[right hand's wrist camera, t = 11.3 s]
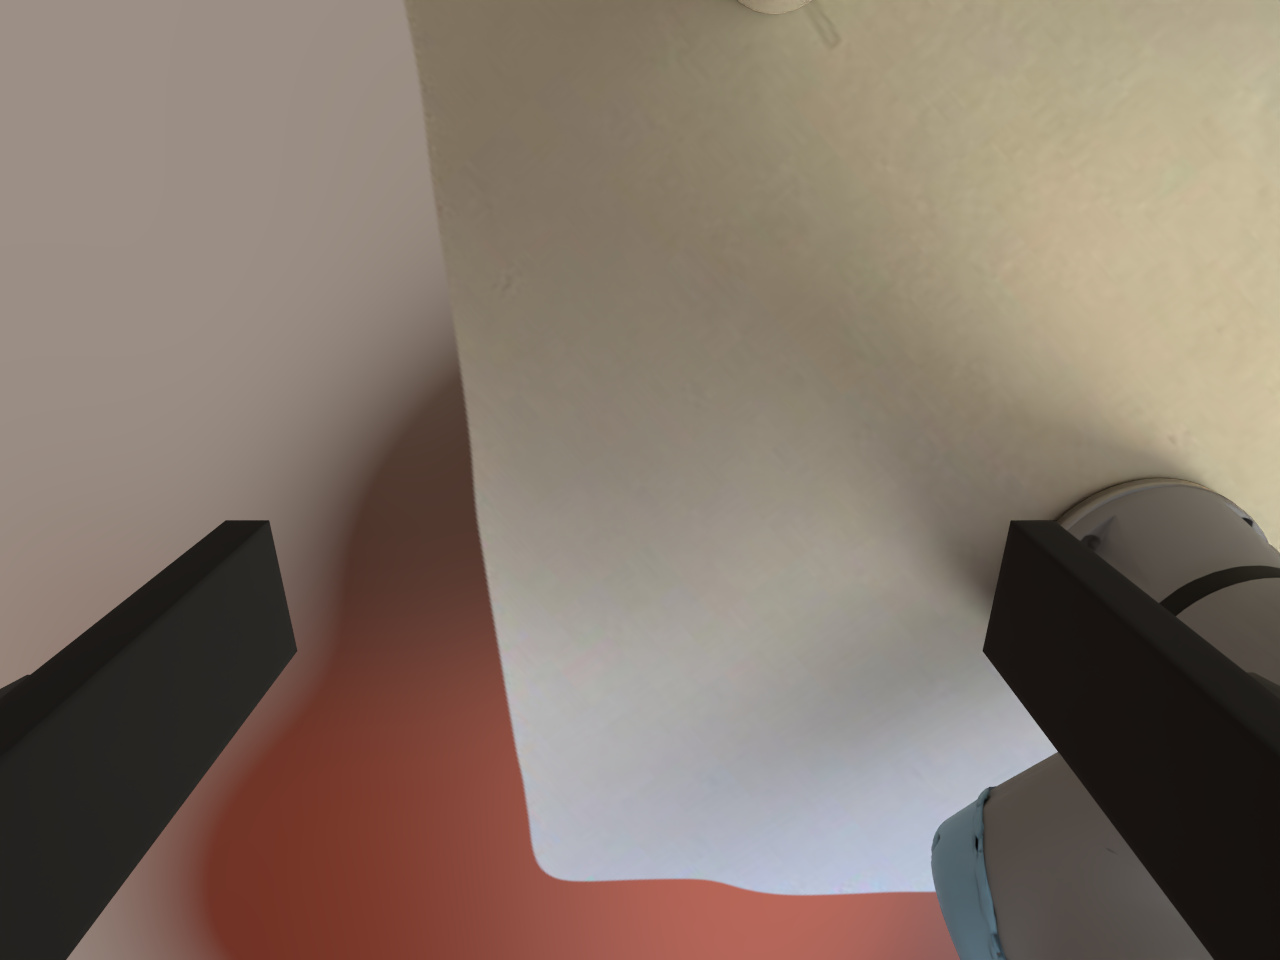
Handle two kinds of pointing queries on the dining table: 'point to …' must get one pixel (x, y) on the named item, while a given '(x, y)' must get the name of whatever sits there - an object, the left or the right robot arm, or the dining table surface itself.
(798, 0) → the bottle
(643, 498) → the dining table surface
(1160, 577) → the right robot arm
